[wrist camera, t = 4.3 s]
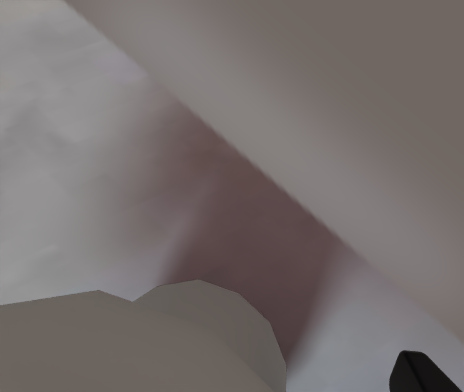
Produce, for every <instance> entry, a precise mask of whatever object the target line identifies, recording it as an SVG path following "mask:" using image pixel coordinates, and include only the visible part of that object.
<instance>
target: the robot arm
mask: <svg viewBox="0 0 464 392" xmlns="http://www.w3.org/2000/svg"><path fill="white" fill-rule="evenodd" d="M389 388H390V392H462V391H461V390H460V389H459V388H458V387H457V386H456V385H455V384H454V383H453V382H452V381H451V380H450V379H449V378H448V377H447V376H446V375H445V374H444V373H443V372H442V371H441V370H440V369H439V368H438V366H437V365H436V364H435V363H434V362H433V361H432V360H431V359H430V358H429V357H428V356H427V355H425V354H424V353H422V352H417V351H406V350H404V351H401V352H400V353H399V355H398V358H397V360H396V363H395V365H394V368H393V371H392V373H391V376H390V380H389Z"/></svg>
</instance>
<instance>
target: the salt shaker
mask: <svg viewBox="0 0 464 392" xmlns="http://www.w3.org/2000/svg"><path fill="white" fill-rule="evenodd" d="M286 369H287V366H286V364H285V361H284V358H283V356H282V353H281V350H280V348H279V345H278V343H277V340H276V337H275V335H274V332H273V329H272V327H271V324H270V322H269V321H268V320H267V319H266V318H264V317H263V316H262V315H261V314H260V313H259V312H258V311H257V310H256V309H255V308H254V307H253V306H252V305H251V304H249V303H248V302H247V301H246V300H245V299H244V298H243V297H242V296H241V295H240V294H239V293H236V292H234V291H231V290H228V289H225V288H222V287H219V286H216V285H214V284H211V283H208V282H205V281H202V280H199V279H198V280H192V281H186V282H180V283H174V284H168V285H162V286H157V287H156V288H154V289H152V290H151V291H149V292H148V293H146V294H144V295H143V296H141V297H140V298H138V299H136V300H135V301H133V302H131V301H128V300H125V299H123V298H120V297H117V296H114V295H111V294H108V293H105V292H103V291H100V290H96V291H90V292H84V293H77V294H71V295H64V296H58V297H52V298H45V299H39V300H32V301H26V302H20V303H13V304H7V305H0V392H286Z"/></svg>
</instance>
